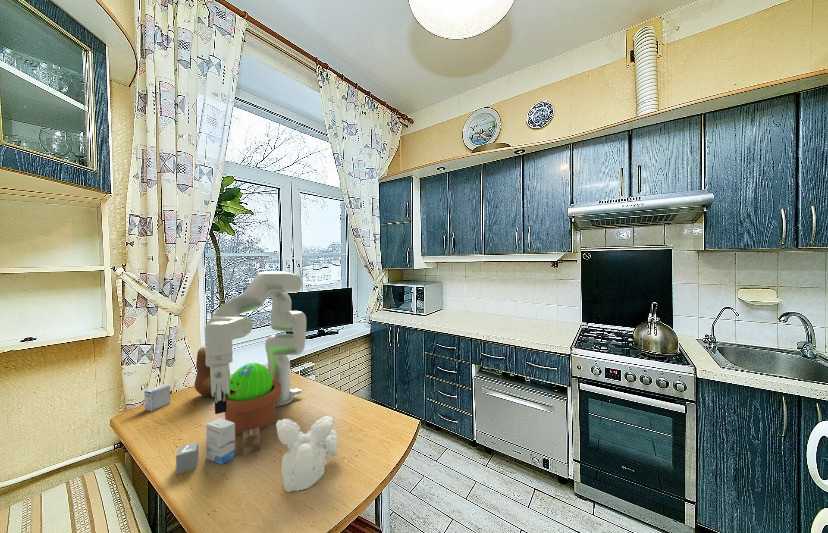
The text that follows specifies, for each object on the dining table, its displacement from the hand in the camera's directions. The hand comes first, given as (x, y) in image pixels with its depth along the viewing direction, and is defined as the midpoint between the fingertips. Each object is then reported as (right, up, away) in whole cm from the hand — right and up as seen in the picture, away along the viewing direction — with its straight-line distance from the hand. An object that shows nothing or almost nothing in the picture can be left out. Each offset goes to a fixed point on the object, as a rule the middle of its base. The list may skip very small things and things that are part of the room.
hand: (220, 411), depth 99 cm
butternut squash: (-35, -15, +46) cm, 59 cm away
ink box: (0, -16, 0) cm, 16 cm away
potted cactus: (-2, -15, +21) cm, 26 cm away
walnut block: (+8, -15, +4) cm, 18 cm away
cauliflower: (+32, -16, -5) cm, 36 cm away
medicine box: (-52, -15, +35) cm, 64 cm away
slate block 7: (-8, -16, -4) cm, 18 cm away
